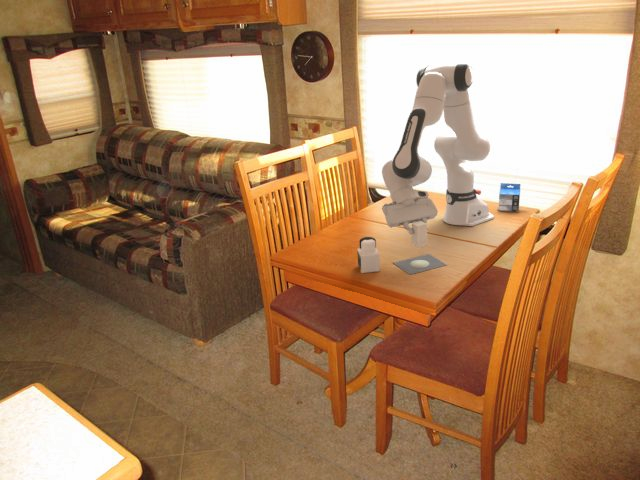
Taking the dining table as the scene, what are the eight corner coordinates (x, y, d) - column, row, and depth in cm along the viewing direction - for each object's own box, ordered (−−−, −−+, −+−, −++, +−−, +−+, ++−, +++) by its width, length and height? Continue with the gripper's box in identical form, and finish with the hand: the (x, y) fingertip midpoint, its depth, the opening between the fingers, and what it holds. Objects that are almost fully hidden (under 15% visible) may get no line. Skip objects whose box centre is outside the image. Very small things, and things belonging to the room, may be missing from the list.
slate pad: (429, 254, 205) (429, 253, 205) (447, 265, 195) (447, 264, 195) (393, 263, 200) (393, 262, 200) (409, 274, 190) (409, 274, 190)
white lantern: (357, 265, 200) (356, 236, 196) (376, 263, 201) (375, 234, 196) (360, 273, 194) (359, 243, 189) (380, 271, 194) (379, 241, 190)
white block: (420, 241, 197) (420, 220, 194) (426, 244, 193) (427, 224, 190) (411, 243, 195) (411, 222, 192) (417, 246, 192) (417, 226, 189)
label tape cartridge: (498, 211, 244) (499, 185, 240) (498, 208, 248) (500, 183, 243) (518, 212, 241) (520, 186, 236) (518, 209, 244) (520, 183, 240)
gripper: (383, 200, 192) (397, 233, 187) (431, 191, 198) (445, 223, 193) (377, 208, 197) (391, 241, 192) (424, 199, 204) (438, 230, 199)
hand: (419, 232), depth 193 cm, fingers closed on white block, 4 cm apart
